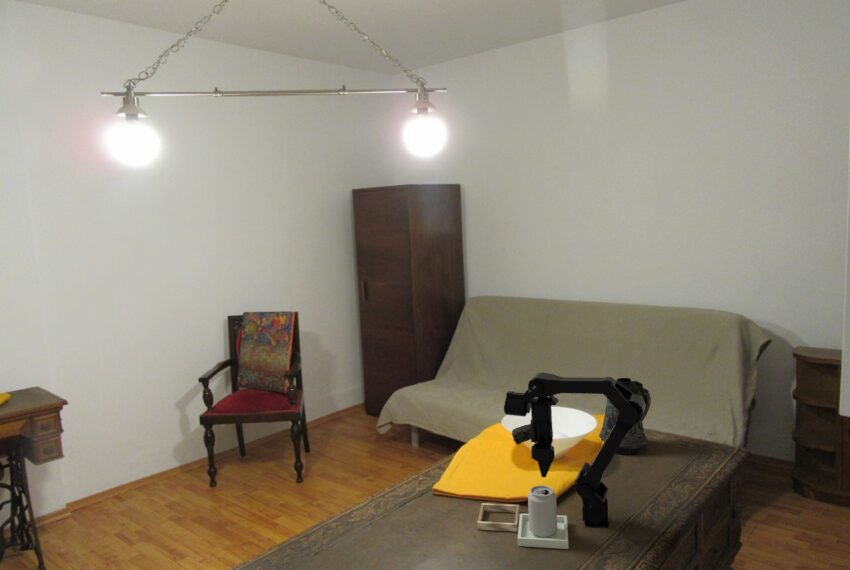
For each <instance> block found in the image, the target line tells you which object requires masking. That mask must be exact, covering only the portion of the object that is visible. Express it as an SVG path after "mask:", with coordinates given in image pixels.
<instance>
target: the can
mask: <svg viewBox="0 0 850 570" xmlns="http://www.w3.org/2000/svg"><path fill="white" fill-rule="evenodd" d="M527 506H528V507H527V508H528V510H527V511H528V514H529V529H530V531H531V532H532V533H533V534H534V535H536V536H538V537H542V538H547V537H551V536H553V535H554V534H555V533H556V532H557V515H558V514H557V513H558V511H557V495H556V493H555V491H554V489H553V488H552V487H550V486H547V485H534V486H532V487H531V488H530V489H529V493H528V494H527Z"/></svg>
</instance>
